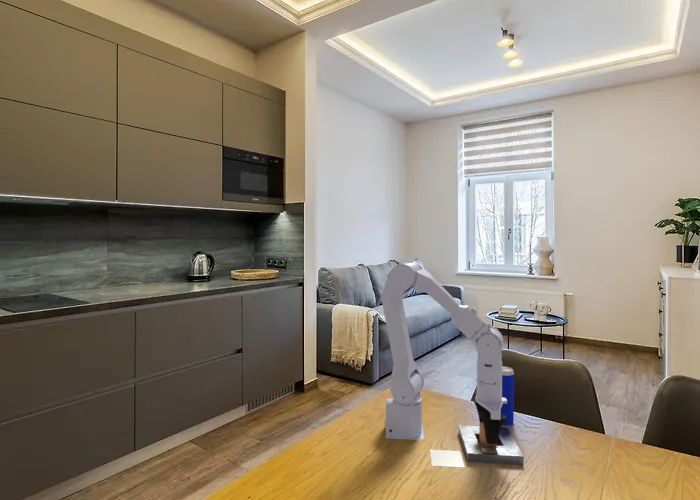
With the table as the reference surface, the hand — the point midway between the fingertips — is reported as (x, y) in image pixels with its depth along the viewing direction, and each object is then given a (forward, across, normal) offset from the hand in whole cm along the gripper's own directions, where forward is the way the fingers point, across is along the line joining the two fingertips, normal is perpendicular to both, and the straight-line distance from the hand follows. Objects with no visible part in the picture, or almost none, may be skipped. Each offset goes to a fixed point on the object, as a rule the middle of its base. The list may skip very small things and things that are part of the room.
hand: (488, 436), depth 100 cm
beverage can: (+3, +15, -7) cm, 17 cm away
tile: (+3, -6, +10) cm, 13 cm away
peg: (+3, 0, 0) cm, 3 cm away
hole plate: (+3, 0, 0) cm, 3 cm away
